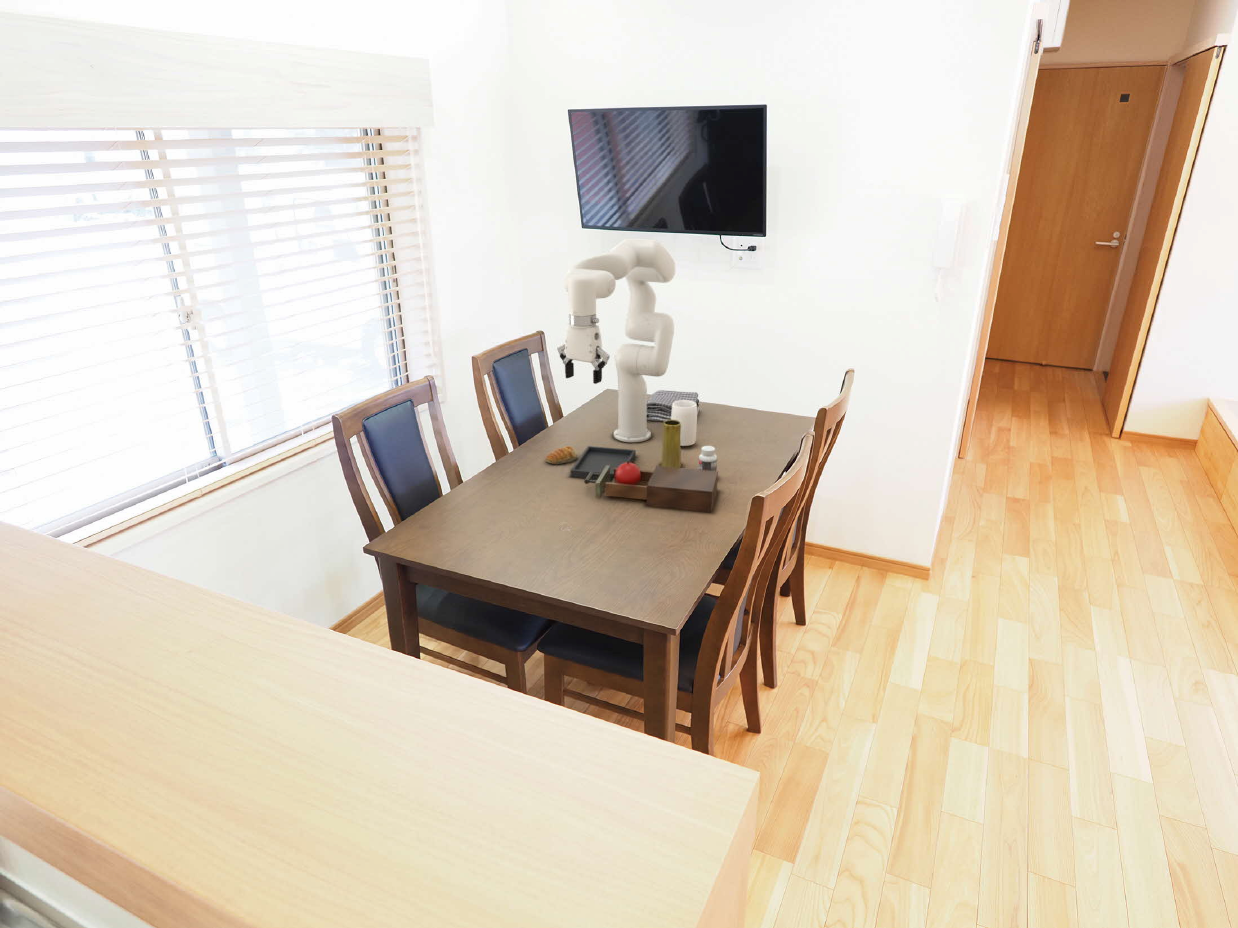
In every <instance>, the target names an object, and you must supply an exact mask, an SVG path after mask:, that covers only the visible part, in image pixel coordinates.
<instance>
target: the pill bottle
mask: <svg viewBox="0 0 1238 928" xmlns="http://www.w3.org/2000/svg"><path fill="white" fill-rule="evenodd" d="M700 452H701V453H700V454H699V455H698V467H697V470H709V471H718V469H717V467H718V456H717V454H716V447H714V446H712V445H704V446H701V451H700Z"/></svg>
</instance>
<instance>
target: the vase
mask: <svg viewBox="0 0 1238 928" xmlns="http://www.w3.org/2000/svg"><path fill="white" fill-rule="evenodd" d="M662 425H663V426H662V427H663V428H662V451H661V463H660V466H663V467H675V468H682V455H681V454H682V453H681V452H682V451H681V445H680V435H681V422H680V421H678V420H666V421H663V424H662Z"/></svg>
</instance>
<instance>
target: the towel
mask: <svg viewBox="0 0 1238 928" xmlns="http://www.w3.org/2000/svg"><path fill="white" fill-rule="evenodd" d="M698 397H699V393H698V392H696V391H695V392H694V391H690V392H689V391H676V390H665V389H659V390H657V391H655V392H653V394H651V395H650V397H649V398H648V399H647V420H648V421H653V422H664V421H666V420H671V413H672V403H673V402H675V401H679V400H689V401H693V402H695V403H696V404H697V415H698V414H699V412H700V404H699V403H700V399H699V398H698Z"/></svg>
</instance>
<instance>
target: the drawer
mask: <svg viewBox="0 0 1238 928" xmlns="http://www.w3.org/2000/svg"><path fill="white" fill-rule="evenodd" d="M616 470H617V468H614V479H613V481H610V466H609V465H606V467H605V468H604V470H603V472H602V473H601V474H598V473H594V472H592V471H591V472H590V473H589V474H588V476H587V477H586V478H584V481H583V483H584V484H585V485H588V484H594V485H595V498H601V496H602V494H603V492H604V493H605V496H606V497H607V496H608V497H616V498H627V499H637V500H646V501H647V484H648V482H649V480H650V478H651V476H652V474H653V472H654V470H641V469H639V470H640V473H641V478H640V481H639V482H638V484H637V485H630V484H620V483H618V482H617V480H616V477H615V473H616ZM593 476H599V478H598V480H597V479H596V480H594V479H592V477H593Z"/></svg>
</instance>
